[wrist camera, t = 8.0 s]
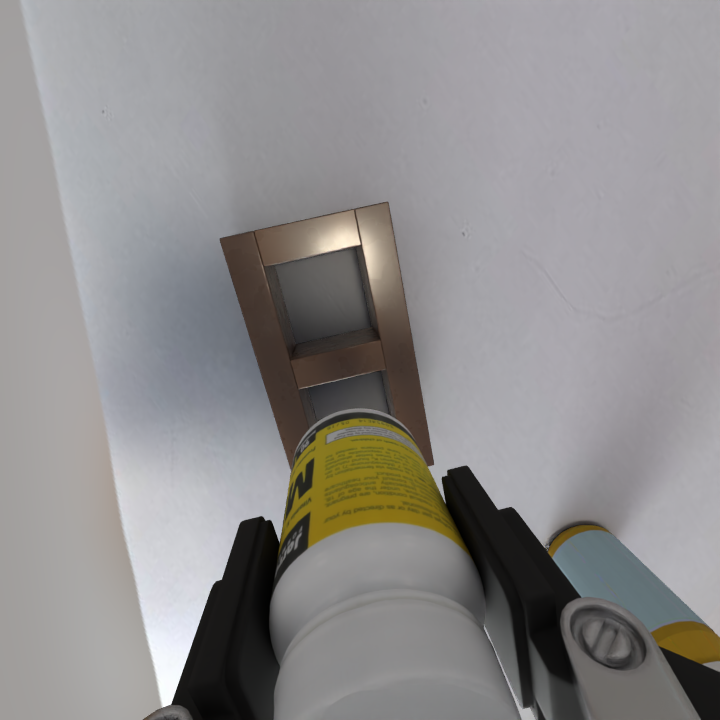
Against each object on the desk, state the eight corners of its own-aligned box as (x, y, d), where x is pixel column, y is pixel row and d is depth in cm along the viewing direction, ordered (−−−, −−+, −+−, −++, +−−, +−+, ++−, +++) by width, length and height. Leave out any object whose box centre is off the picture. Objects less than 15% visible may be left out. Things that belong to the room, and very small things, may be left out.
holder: (303, 462, 29) (299, 497, 25) (237, 242, 24) (218, 238, 20) (418, 435, 30) (434, 465, 25) (377, 211, 25) (388, 201, 20)
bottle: (601, 578, 36) (787, 793, 21) (535, 580, 35) (681, 803, 21) (619, 520, 34) (834, 711, 20) (550, 520, 33) (721, 720, 19)
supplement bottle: (293, 403, 13) (236, 663, 4) (424, 405, 13) (585, 642, 5) (291, 518, 14) (246, 882, 6) (411, 516, 14) (523, 848, 6)
